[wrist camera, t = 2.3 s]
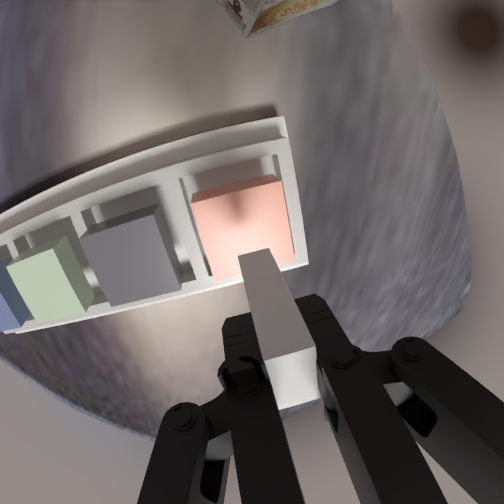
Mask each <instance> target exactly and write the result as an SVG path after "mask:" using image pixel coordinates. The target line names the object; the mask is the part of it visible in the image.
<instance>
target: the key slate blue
mask: <svg viewBox="0 0 504 504" xmlns="http://www.w3.org/2000/svg"><path fill="white" fill-rule="evenodd" d="M6 266H7V264H6V262H5V260H3V261H1V262H0V332H1V331H6V330H11V329H15V328H20V327H22V326H23V324H24V323H25V321H26V319H27V318H28V316H29V315H30V313H31V312H30V310H29V308H28V307H27V305H26V303H25V302H24V300H23V298H22V296H21V295H20V293H19V291H18V289H17V287H16V286H15V284H14V282H13V280H12V278H11V276H10V274H9V272H8V270H7V268H6Z"/></svg>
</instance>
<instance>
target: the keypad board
mask: <svg viewBox="0 0 504 504" xmlns="http://www.w3.org/2000/svg"><path fill="white" fill-rule="evenodd" d="M268 174H274V175H275V176H276V177H277V178H278V179H280V180H281V182H282V187H283V193H284V198H285V204H286V209H287V215H288V221H289V227H290V232H291V238H292V245H293V251H294V257H295V261H292V262H288V263H284V264H280V265H278V267H279V269H280V271H281V272H282V271H285V270H289V269H293V268H296V267H300V266H304V265H307V264H308V255H307V248H306V241H305V234H304V227H303V220H302V213H301V207H300V201H299V195H298V188H297V183H296V177H295V171H294V165H293V160H292V154H291V149H290V144H289V138H288V135H287V129H286V124H285V119H284V116H276V117H270V118H265V119H260V120H255V121H250V122H245V123H240V124H236V125H231V126H227V127H223V128H219V129H215V130H211V131H207V132H203V133H199V134H195V135H192V136H188V137H185V138H181V139H178V140H174V141H171V142H168V143H164V144H161V145H158V146H155V147H152V148H149V149H146V150H143V151H140V152H137V153H134V154H131V155H128V156H125V157H123V158H120V159H117V160H115V161H112V162H109V163H107V164H104V165H102V166H99V167H97V168H94V169H92V170H89V171H87V172H84V173H82V174H80V175H77V176H75V177H73V178H70V179H68V180H66V181H64V182H61V183H59V184H57V185H55V186H53V187H51V188H49V189H47V190H44V191H42V192H40V193H38V194H36V195H34V196H32V197H30V198H28V199H27V200H25V201H23V202H21V203H19V204H17V205H15V206H13V207H12V208H10V209H8V210H6V211H4V212H3V213H1V214H0V262H1V261H3V260H5V262H6V264H7V265H8V264H9V263H10V262H11V261H12V260H13V259H14V258H15V257H17V256H18V255H19V254H20V253H21V252H24V251H26V250H29V249H31V248H33V247H36V246H38V245H41V244H43V243H46V242H48V241H51V240H53V239H56V238H59V237H61V236H64V235H67V237H68V240H69V242H70V244H71V246H72V249H73V251H74V253H75V255H76V258H77V260H78V262H79V264H80V266H81V268H82V270H83V272H84V274H85V276H86V278H87V280H88V282H89V284H90V286H91V288H92V290H93V292H94V294H95V296H94V298H93V300H92V302H91V304H90V306H89V308H88V310H87V312H86V313H83V314H79V315H75V316H70V317H66V318H61V319H57V320H52V321H48V322H43V323H39V324H38V323H37V321H36V320H35V318H34V317H33V315H32V313H30V315H29V316H28V318H27V319H26V321H25V323H24V324H23V326H22V327H20V328H15V329H11V330H6V331H3V332H4V333H5V334H8V333H13V332H15V333H16V334H18V333H23V332H28V331H33V330H38V329H43V328H48V327H53V326H57V325H62V324H67V323H72V322H76V321H81V320H86V319H90V318H95V317H99V316H104V315H108V314H113V313H117V312H121V311H126V310H130V309H134V308H139V307H143V306H147V305H151V304H156V303H160V302H164V301H168V300H172V299H176V298H181V297H185V296H189V295H193V294H197V293H201V292H205V291H209V290H213V289H217V288H221V287H225V286H228V285H232V284H236V283H240V282H244V281H243V277H242V275H239V276H235V277H231V278H227V279H223V280H219V281H214V277H213V274H212V271H211V268H210V265H209V262H208V259H207V256H206V253H205V249H204V246H203V243H202V240H201V237H200V233H199V230H198V227H197V223H196V220H195V217H194V213H193V210H192V207H191V199H192V194H193V193H196V192H200V191H204V190H207V189H211V188H215V187H219V186H223V185H226V184H230V183H234V182H238V181H242V180H247V179H251V178H255V177H259V176H264V175H268ZM158 203H159V204H160V207H161V210H162V213H163V216H164V219H165V222H166V225H167V228H168V231H169V234H170V237H171V240H172V243H173V246H174V248H175V251H176V254H177V257H178V259H179V262H180V265H181V268H182V270H183V278H182V288H181V290H180V291H176V292H172V293H168V294H163V295H159V296H155V297H151V298H147V299H143V300H139V301H135V302H130V303H126V304H122V305H118V306H114V307H111V306H110V304H109V302H108V300H107V298H106V296H105V294H104V292H103V290H102V288H101V286H100V284H99V282H98V280H97V278H96V276H95V274H94V272H93V270H92V268H91V266H90V264H89V261H88V259H87V257H86V255H85V253H84V250H83V248H82V246H81V243H80V241H79V238H80V237H81V236H82V235H83V234H84V232H85V231H86V230H87V229H88V228H89V227H90V226H91V225H94V224H97V223H100V222H103V221H105V220H108V219H111V218H114V217H117V216H120V215H123V214H126V213H129V212H133V211H136V210H139V209H142V208H145V207H148V206H152V205H155V204H158Z"/></svg>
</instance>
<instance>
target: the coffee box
mask: <svg viewBox="0 0 504 504" xmlns="http://www.w3.org/2000/svg"><path fill="white" fill-rule="evenodd" d="M217 1H218V3H219V4H220V5H221V6H222V7H223V8H224V10H225V11H226V12H227V13H228V15H229V16H230V17H231V18H232V20H233V21H234V22H235V23H236V25H237V26H238V27H239V28H240V30H241V31H242V32H243V34H244V35H245V36H246V37H251V36H253V35H256V34H258V33H260V32H262V31H265V30H267V29H269V28H271V27H274V26H276V25H278V24H281V23H283V22H286V21H288V20H291V19H293V18H296V17H298V16H301V15H304V14H307V13H309V12H312V11H315V10H318V9H321V8H324V7H327V6H330V5H332V4H334V3H335V2H336V1H338V0H217Z"/></svg>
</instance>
